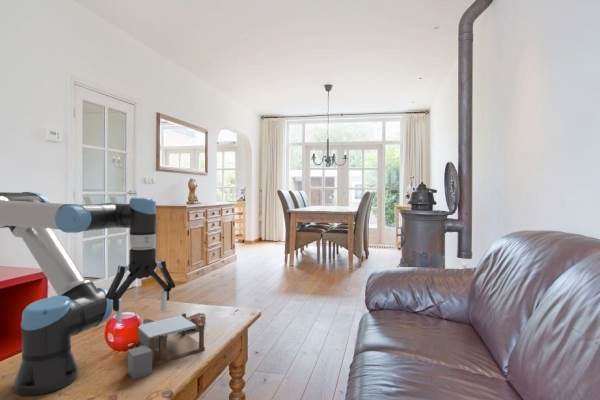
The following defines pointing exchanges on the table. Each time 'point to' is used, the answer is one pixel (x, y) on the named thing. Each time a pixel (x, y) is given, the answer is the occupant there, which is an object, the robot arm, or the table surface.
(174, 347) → the frame
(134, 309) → the table surface
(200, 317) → the mineral specimen
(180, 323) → the trapdoor
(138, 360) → the block
